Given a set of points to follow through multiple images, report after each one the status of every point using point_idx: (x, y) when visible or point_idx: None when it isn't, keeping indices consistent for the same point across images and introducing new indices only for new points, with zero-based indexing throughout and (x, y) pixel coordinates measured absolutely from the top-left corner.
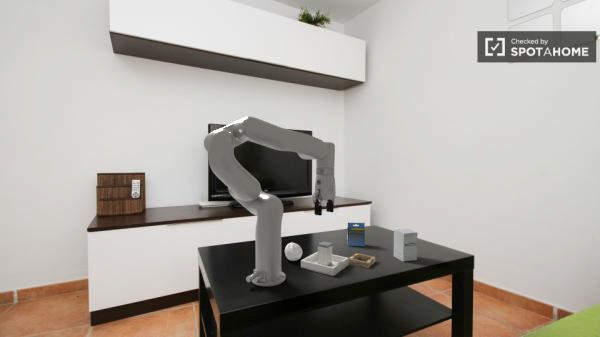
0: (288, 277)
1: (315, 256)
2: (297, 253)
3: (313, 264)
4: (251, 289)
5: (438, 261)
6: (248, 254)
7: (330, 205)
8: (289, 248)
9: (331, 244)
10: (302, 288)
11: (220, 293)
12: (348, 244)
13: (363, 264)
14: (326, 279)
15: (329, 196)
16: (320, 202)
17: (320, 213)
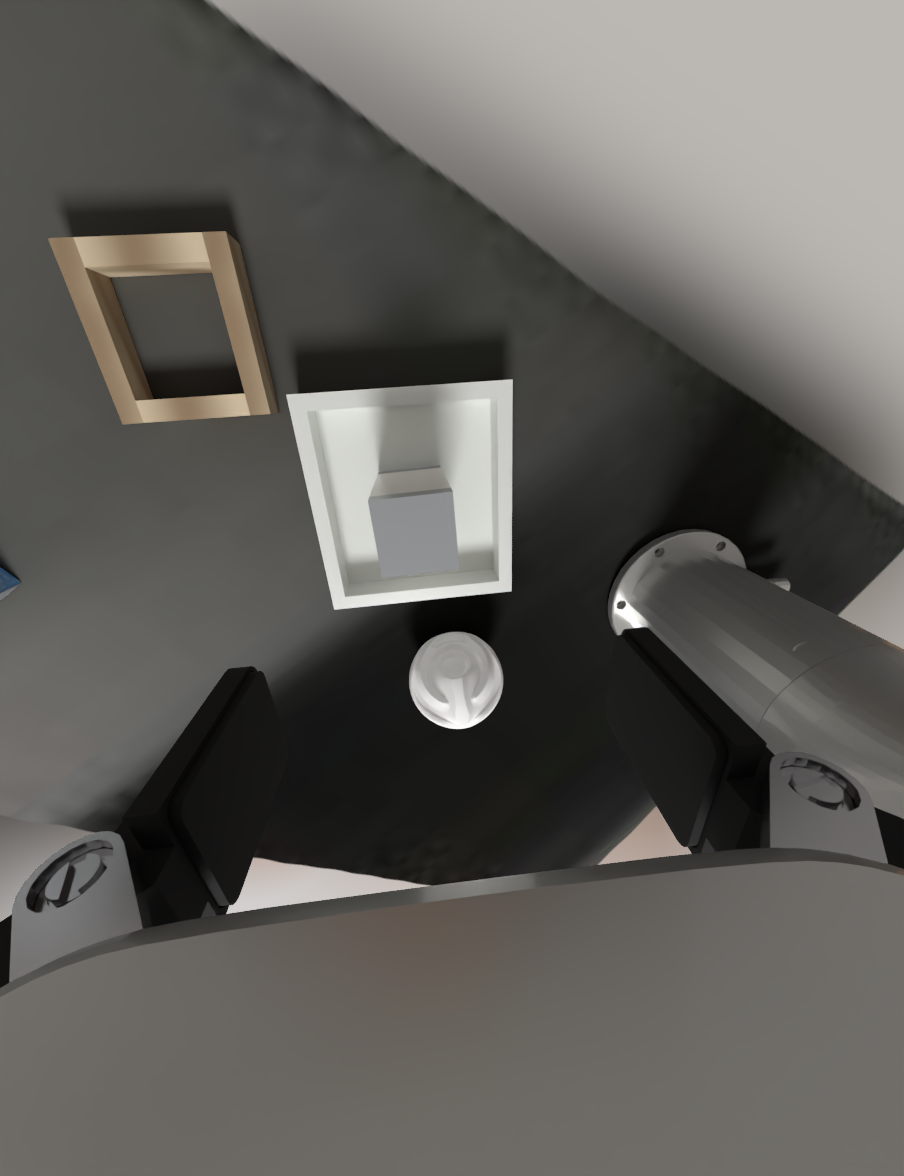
0: (621, 546)
1: (386, 586)
2: (472, 646)
3: (511, 514)
4: (766, 577)
5: None
6: (514, 795)
7: (226, 795)
8: (494, 691)
9: (384, 497)
10: (689, 427)
11: None
12: (7, 582)
13: (243, 282)
14: (552, 390)
15: (629, 1069)
16: (863, 825)
17: (655, 652)
